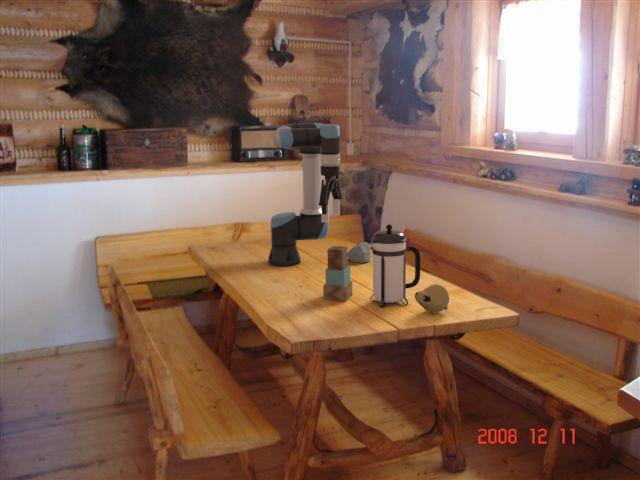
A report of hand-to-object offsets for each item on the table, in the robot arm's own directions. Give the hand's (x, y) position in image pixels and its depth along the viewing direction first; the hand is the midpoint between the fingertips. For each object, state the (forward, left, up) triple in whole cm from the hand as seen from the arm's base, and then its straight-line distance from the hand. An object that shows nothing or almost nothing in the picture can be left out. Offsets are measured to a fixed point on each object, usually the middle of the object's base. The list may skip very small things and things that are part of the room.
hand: (330, 218), depth 271 cm
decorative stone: (-3, +51, -30) cm, 59 cm away
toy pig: (+44, -17, -30) cm, 55 cm away
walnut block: (+5, -9, -18) cm, 20 cm away
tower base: (+5, -8, -30) cm, 31 cm away
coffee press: (+27, -8, -30) cm, 41 cm away
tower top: (+5, -8, -24) cm, 25 cm away
